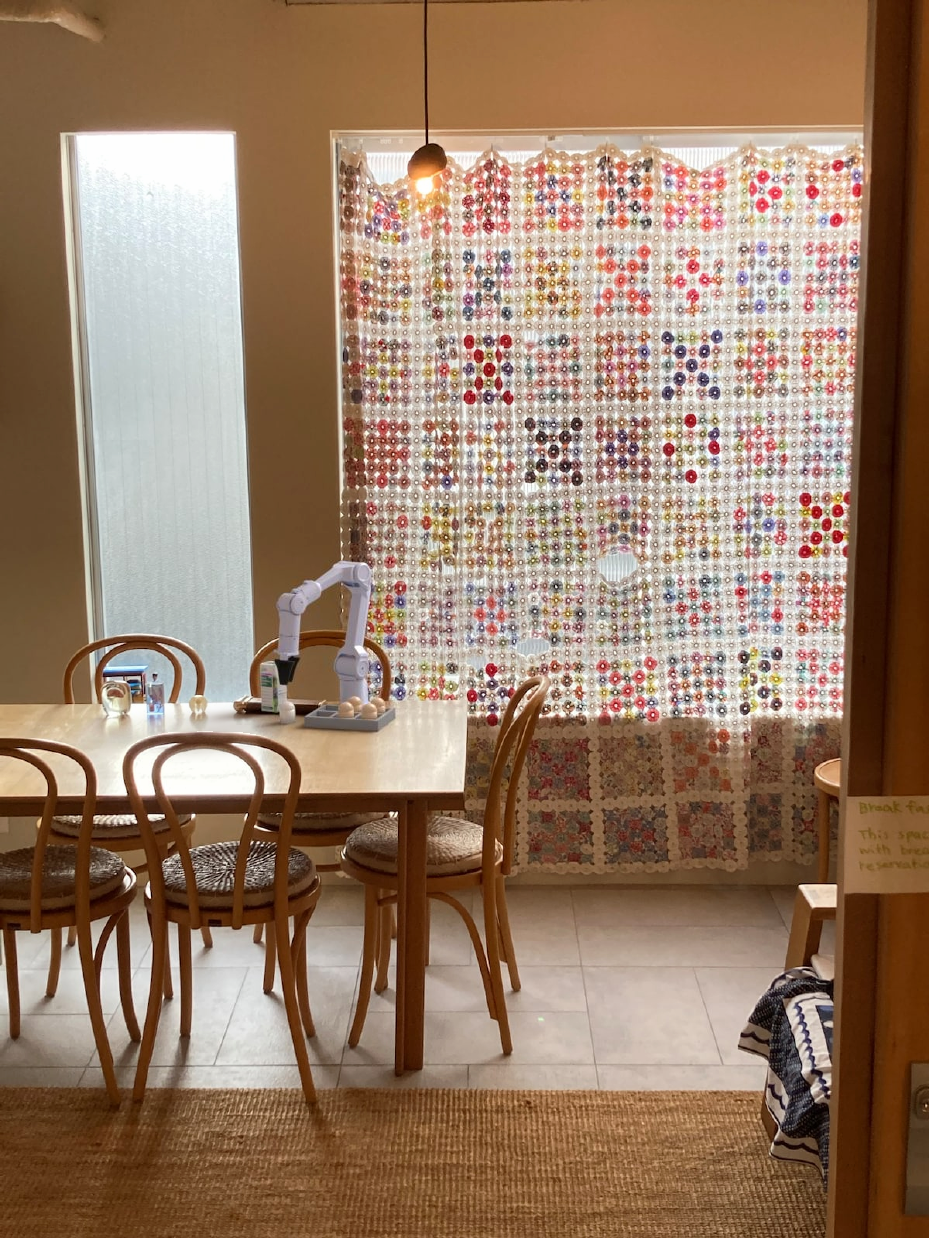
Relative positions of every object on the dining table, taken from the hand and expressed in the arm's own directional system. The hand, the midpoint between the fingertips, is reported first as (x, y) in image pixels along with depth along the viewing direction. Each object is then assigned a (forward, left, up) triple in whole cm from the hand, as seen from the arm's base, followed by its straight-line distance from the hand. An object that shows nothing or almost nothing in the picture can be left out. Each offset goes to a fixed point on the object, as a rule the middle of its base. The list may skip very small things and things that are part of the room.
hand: (285, 683), depth 328 cm
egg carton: (-6, +17, -12) cm, 22 cm away
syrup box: (-16, -11, -12) cm, 23 cm away
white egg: (-3, -1, -12) cm, 12 cm away
